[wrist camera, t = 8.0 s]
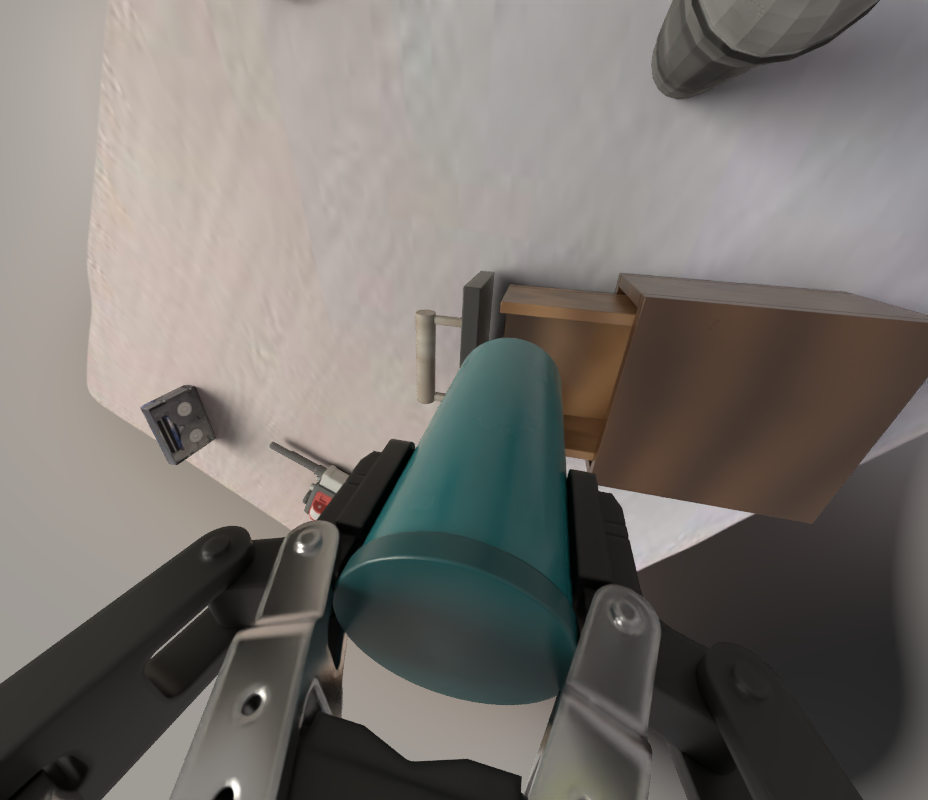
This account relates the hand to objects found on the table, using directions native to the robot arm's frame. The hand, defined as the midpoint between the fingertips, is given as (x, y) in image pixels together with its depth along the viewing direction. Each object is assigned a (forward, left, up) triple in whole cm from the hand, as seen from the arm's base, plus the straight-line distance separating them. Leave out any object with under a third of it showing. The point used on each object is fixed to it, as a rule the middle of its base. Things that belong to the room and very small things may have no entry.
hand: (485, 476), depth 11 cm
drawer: (+4, +1, -22) cm, 22 cm away
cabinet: (+4, +15, -23) cm, 28 cm away
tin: (0, 0, -7) cm, 7 cm away
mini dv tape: (+18, -41, -23) cm, 51 cm away
